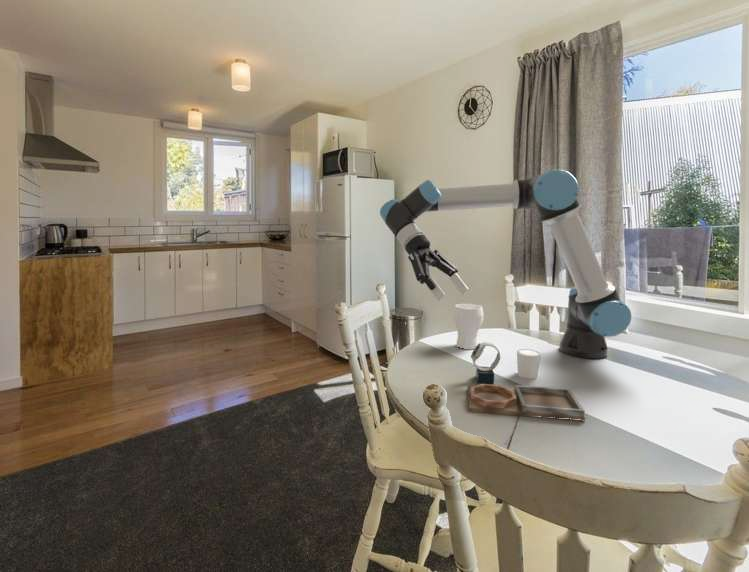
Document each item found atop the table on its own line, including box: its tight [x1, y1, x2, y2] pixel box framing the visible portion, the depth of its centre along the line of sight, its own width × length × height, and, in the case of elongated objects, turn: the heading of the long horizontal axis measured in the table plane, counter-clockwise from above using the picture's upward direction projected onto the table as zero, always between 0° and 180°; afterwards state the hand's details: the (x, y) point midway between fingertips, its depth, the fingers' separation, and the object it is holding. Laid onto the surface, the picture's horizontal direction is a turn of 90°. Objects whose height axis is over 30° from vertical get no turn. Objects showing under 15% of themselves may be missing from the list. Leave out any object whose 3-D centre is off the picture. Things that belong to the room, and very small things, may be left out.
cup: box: [452, 303, 484, 350], centre depth 150 cm, size 11×11×15 cm
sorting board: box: [467, 384, 586, 421], centre depth 103 cm, size 26×13×2 cm, turn 79°
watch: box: [470, 341, 501, 385], centre depth 118 cm, size 6×8×11 cm
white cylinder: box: [516, 348, 542, 379], centre depth 123 cm, size 7×7×7 cm
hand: (454, 294), depth 122 cm, fingers open, 13 cm apart
